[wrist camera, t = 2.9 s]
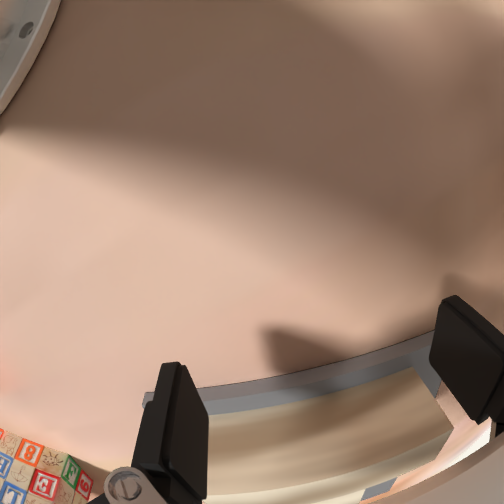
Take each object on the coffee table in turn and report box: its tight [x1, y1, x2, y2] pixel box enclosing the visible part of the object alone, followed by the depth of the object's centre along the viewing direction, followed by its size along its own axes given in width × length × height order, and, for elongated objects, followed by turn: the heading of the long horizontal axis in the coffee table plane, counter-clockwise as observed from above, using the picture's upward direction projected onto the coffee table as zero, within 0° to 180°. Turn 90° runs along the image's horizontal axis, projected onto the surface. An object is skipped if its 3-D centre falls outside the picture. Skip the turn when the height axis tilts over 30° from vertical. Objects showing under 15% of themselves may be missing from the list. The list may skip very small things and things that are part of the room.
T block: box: [202, 367, 454, 504], centre depth 13 cm, size 12×12×5 cm
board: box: [142, 330, 442, 501], centre depth 18 cm, size 26×18×1 cm
